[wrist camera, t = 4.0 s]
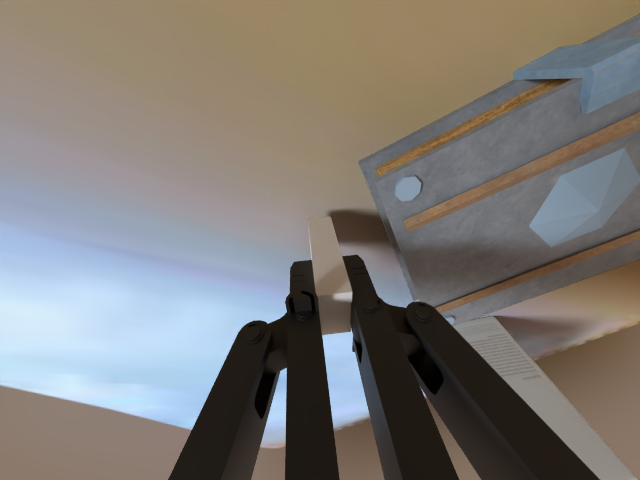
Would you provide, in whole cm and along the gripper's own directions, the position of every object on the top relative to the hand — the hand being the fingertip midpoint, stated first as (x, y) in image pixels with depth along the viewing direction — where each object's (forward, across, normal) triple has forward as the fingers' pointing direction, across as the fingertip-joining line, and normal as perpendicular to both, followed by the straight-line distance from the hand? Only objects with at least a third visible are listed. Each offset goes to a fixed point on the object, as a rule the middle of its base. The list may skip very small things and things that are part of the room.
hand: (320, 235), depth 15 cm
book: (+2, +16, +1) cm, 16 cm away
